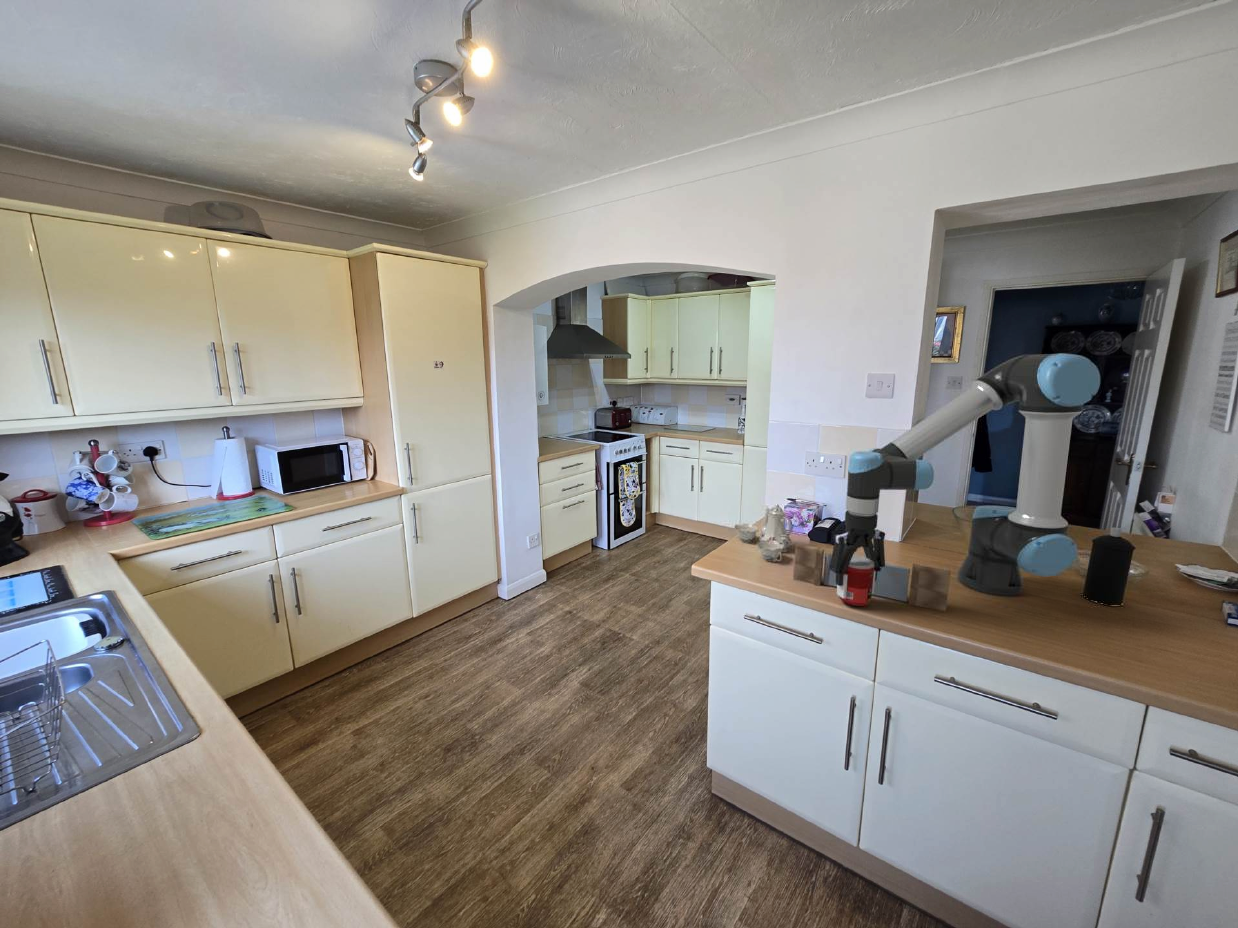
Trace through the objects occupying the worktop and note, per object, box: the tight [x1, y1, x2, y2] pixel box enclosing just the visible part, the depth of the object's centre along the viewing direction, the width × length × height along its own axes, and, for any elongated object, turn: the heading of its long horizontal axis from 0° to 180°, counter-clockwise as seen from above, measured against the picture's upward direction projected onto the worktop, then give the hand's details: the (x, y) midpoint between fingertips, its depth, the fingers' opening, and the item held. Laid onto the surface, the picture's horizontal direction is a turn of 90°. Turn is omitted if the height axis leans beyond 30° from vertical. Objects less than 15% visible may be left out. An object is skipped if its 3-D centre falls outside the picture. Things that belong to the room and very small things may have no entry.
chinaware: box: [734, 503, 793, 562], centre depth 170 cm, size 28×17×17 cm, turn 17°
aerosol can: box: [1081, 527, 1136, 606], centre depth 131 cm, size 8×8×20 cm
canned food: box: [838, 555, 874, 607], centre depth 131 cm, size 8×8×11 cm
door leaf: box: [822, 552, 911, 602], centre depth 137 cm, size 21×2×9 cm, turn 58°
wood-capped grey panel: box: [792, 543, 952, 613], centre depth 137 cm, size 38×3×10 cm, turn 58°
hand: (855, 593), depth 132 cm, fingers closed on canned food, 8 cm apart
